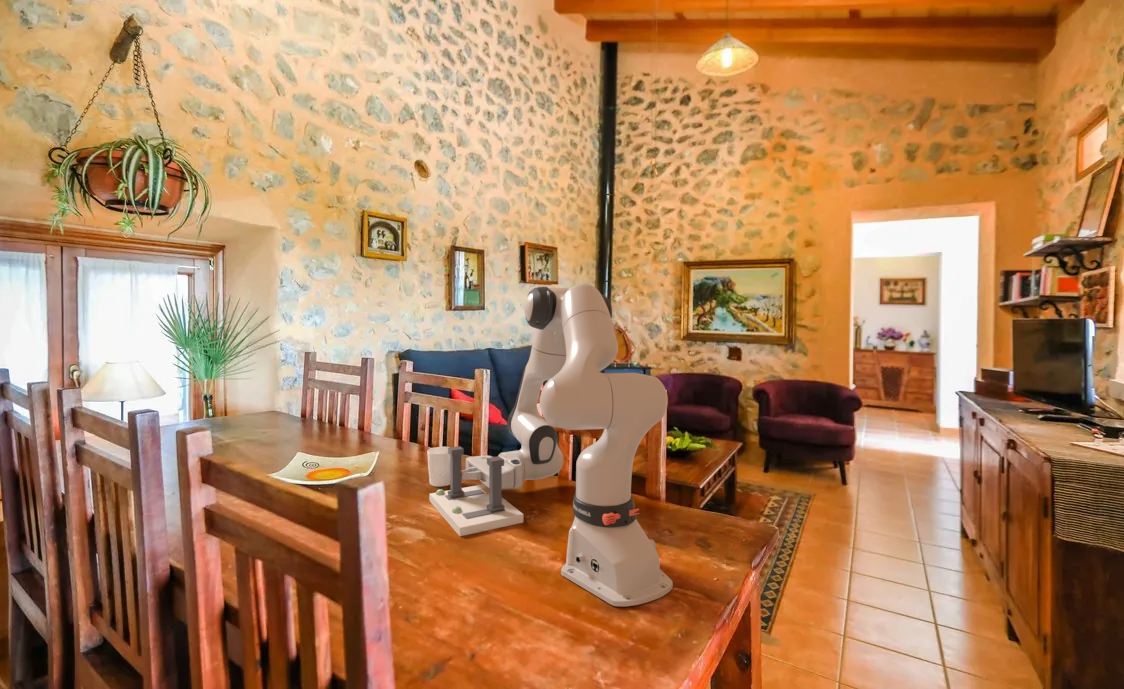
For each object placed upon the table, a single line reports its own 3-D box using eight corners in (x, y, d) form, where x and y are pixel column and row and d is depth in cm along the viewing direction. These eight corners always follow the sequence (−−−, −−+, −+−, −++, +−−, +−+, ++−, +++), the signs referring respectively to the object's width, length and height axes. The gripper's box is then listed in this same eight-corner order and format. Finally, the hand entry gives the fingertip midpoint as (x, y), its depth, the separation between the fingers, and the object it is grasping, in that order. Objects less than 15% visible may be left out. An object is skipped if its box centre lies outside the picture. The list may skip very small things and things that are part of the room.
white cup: (451, 487, 149) (451, 453, 148) (424, 487, 149) (423, 453, 148) (457, 479, 156) (457, 446, 156) (431, 478, 157) (431, 446, 156)
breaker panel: (523, 522, 125) (523, 509, 124) (459, 536, 117) (459, 522, 116) (485, 490, 146) (485, 479, 146) (429, 500, 138) (429, 489, 138)
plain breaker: (504, 509, 126) (504, 459, 125) (491, 512, 125) (491, 461, 124) (499, 505, 129) (499, 456, 128) (486, 507, 127) (486, 458, 126)
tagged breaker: (464, 495, 136) (464, 448, 135) (451, 497, 134) (451, 450, 133) (460, 491, 138) (460, 445, 138) (447, 493, 137) (447, 447, 136)
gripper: (493, 448, 152) (448, 454, 145) (524, 466, 134) (473, 474, 128) (494, 469, 153) (448, 476, 146) (523, 489, 135) (473, 499, 128)
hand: (460, 475), depth 136 cm, fingers closed, pressing on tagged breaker
